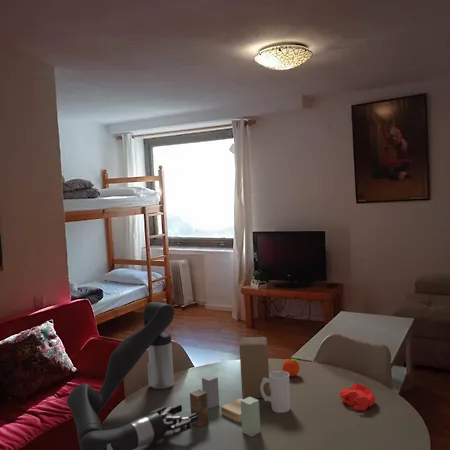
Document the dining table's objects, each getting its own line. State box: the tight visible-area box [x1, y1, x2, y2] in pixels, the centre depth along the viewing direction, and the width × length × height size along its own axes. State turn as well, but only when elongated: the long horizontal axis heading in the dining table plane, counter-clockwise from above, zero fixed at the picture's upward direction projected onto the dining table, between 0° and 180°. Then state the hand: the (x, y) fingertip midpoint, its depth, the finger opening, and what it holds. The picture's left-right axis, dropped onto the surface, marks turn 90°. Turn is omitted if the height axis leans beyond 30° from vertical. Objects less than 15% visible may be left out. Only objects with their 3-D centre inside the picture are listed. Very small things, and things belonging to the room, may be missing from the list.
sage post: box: [241, 397, 261, 437], centre depth 140 cm, size 4×4×10 cm
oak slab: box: [220, 397, 244, 424], centre depth 153 cm, size 9×9×3 cm
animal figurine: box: [339, 382, 376, 411], centre depth 158 cm, size 12×15×5 cm
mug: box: [260, 370, 291, 414], centre depth 155 cm, size 10×7×12 cm, turn 82°
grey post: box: [201, 374, 220, 410], centre depth 161 cm, size 4×4×10 cm
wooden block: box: [239, 336, 271, 399], centre depth 168 cm, size 10×10×20 cm
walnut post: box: [189, 388, 210, 428], centre depth 148 cm, size 4×4×10 cm
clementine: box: [281, 358, 303, 378], centre depth 183 cm, size 8×7×7 cm
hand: (189, 411), depth 145 cm, fingers open, 8 cm apart
